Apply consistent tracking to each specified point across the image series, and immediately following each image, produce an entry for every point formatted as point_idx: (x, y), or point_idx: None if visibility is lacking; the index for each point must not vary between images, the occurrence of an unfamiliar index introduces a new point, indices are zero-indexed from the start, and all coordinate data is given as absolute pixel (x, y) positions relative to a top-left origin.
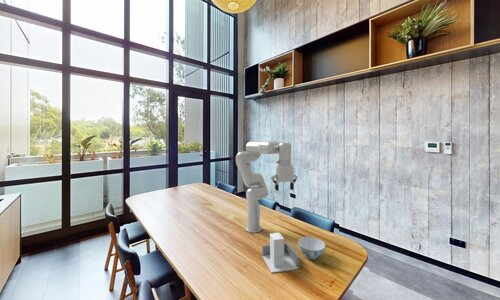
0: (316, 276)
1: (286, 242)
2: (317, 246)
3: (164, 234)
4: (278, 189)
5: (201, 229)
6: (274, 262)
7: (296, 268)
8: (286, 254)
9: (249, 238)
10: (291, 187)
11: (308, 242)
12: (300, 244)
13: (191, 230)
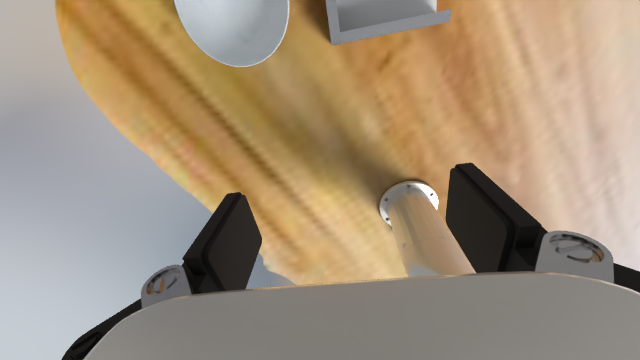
0: None
1: (336, 43)
2: (212, 33)
3: None
4: (463, 176)
5: (583, 214)
6: None
7: None
8: (341, 17)
9: (440, 146)
10: (238, 226)
11: (242, 57)
12: (278, 37)
13: (620, 210)
